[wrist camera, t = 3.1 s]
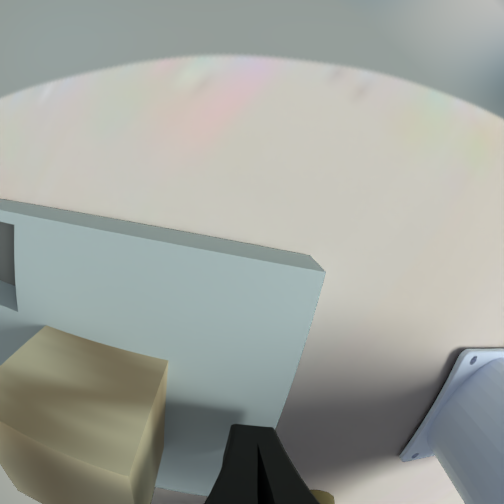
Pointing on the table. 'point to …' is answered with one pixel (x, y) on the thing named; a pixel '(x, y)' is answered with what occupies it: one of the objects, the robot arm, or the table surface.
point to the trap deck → (166, 318)
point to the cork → (323, 497)
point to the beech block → (82, 420)
